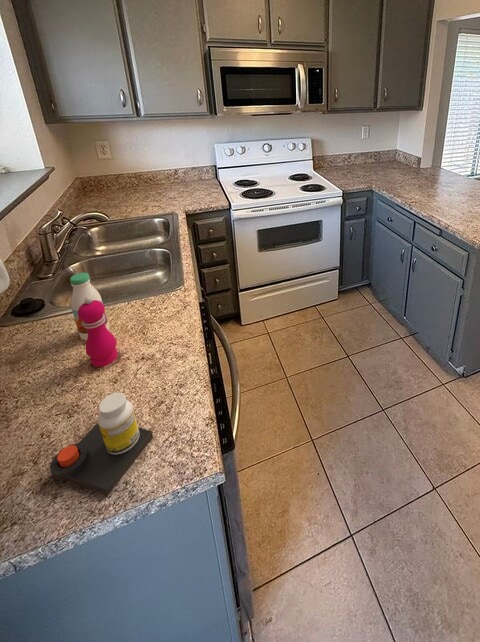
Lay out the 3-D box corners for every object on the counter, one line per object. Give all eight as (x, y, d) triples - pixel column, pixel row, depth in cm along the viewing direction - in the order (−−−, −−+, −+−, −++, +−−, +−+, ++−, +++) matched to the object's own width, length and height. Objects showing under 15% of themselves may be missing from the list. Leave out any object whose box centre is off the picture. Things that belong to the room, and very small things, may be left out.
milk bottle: (75, 335, 109) (58, 278, 102) (102, 321, 114) (87, 266, 108) (87, 345, 104) (69, 286, 98) (114, 330, 110) (99, 274, 103)
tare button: (55, 465, 69) (53, 458, 68) (70, 449, 72) (68, 443, 71) (68, 469, 68) (65, 463, 67) (83, 453, 71) (81, 447, 70)
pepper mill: (104, 348, 103) (87, 288, 96) (125, 351, 102) (110, 291, 95) (83, 366, 97) (63, 304, 90) (106, 370, 95) (88, 307, 88)
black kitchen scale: (47, 481, 69) (41, 469, 68) (103, 422, 81) (99, 411, 79) (103, 502, 65) (98, 489, 64) (153, 437, 77) (150, 425, 76)
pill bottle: (108, 434, 76) (96, 395, 72) (140, 423, 78) (130, 385, 74) (104, 461, 70) (91, 420, 67) (139, 448, 73) (128, 408, 69)
